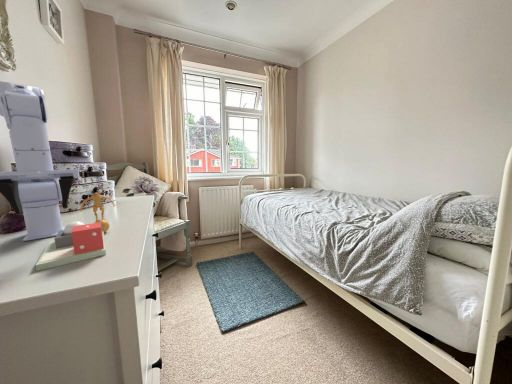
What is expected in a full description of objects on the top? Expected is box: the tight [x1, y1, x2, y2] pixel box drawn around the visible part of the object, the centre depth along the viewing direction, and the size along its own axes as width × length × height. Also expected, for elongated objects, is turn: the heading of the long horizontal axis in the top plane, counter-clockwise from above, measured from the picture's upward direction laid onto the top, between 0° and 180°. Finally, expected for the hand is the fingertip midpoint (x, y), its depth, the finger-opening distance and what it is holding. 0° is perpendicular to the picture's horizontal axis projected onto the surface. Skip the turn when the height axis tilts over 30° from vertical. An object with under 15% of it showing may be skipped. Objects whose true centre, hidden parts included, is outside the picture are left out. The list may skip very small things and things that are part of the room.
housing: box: [54, 230, 73, 249], centre depth 52 cm, size 7×7×2 cm
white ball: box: [64, 220, 85, 236], centre depth 52 cm, size 4×4×4 cm
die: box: [71, 222, 104, 254], centre depth 47 cm, size 5×5×5 cm
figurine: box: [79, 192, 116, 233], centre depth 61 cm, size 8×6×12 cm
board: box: [35, 231, 107, 272], centre depth 50 cm, size 16×11×1 cm
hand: (43, 210), depth 48 cm, fingers open, 7 cm apart
